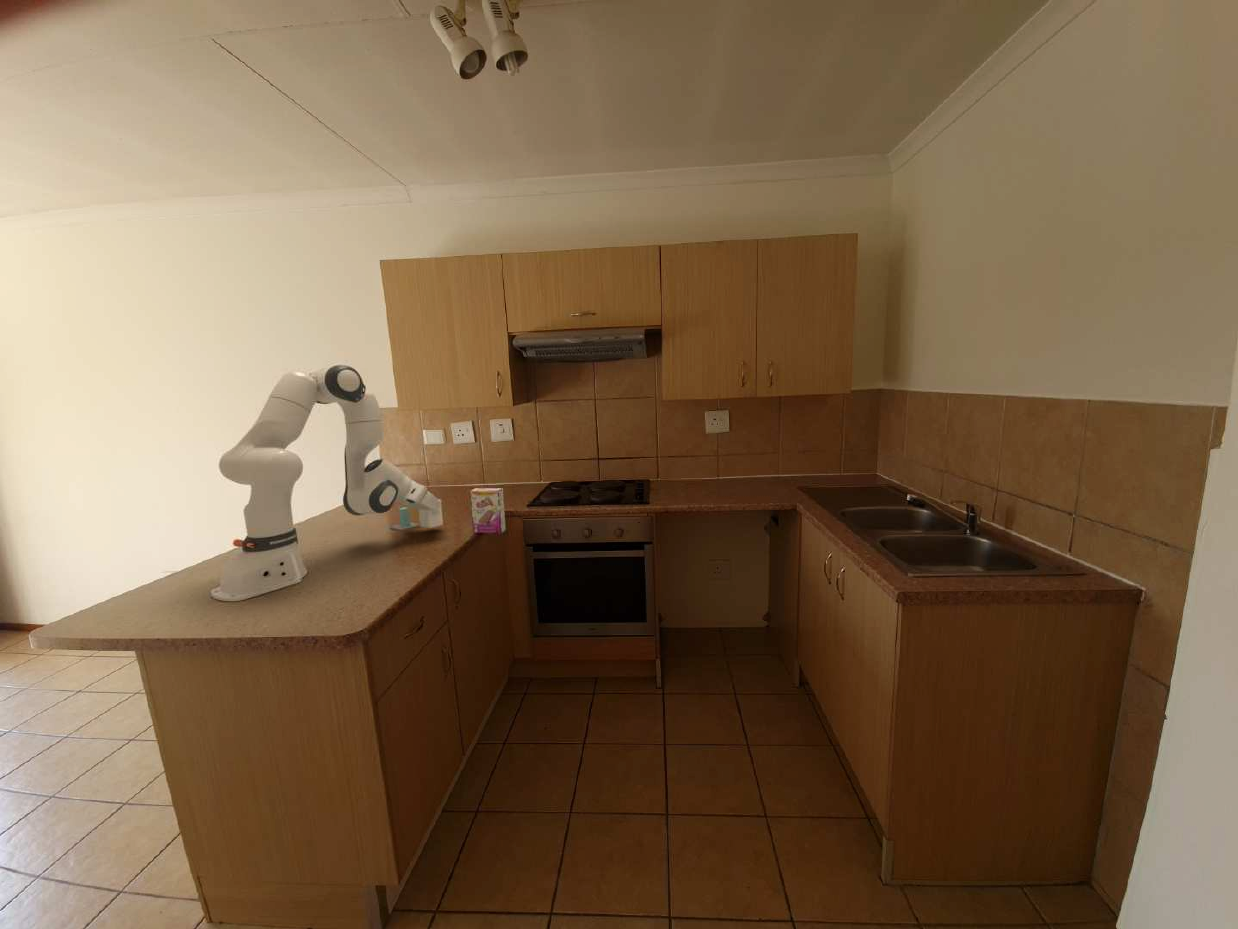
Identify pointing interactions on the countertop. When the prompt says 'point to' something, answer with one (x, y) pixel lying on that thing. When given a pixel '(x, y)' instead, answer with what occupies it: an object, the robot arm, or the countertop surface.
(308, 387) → the robot arm
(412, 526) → the post
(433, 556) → the countertop surface
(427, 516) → the white tissue box
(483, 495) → the candy bar box
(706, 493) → the countertop surface
